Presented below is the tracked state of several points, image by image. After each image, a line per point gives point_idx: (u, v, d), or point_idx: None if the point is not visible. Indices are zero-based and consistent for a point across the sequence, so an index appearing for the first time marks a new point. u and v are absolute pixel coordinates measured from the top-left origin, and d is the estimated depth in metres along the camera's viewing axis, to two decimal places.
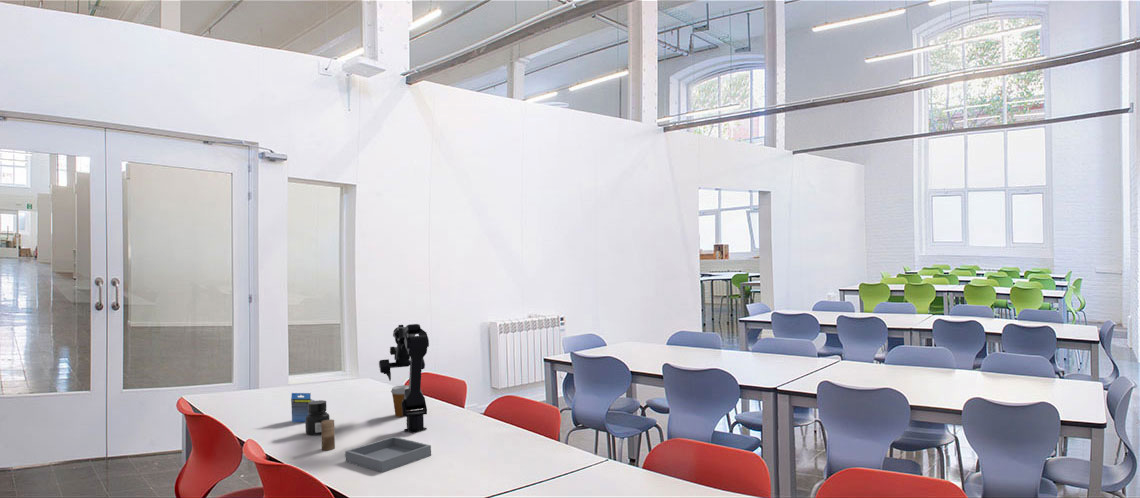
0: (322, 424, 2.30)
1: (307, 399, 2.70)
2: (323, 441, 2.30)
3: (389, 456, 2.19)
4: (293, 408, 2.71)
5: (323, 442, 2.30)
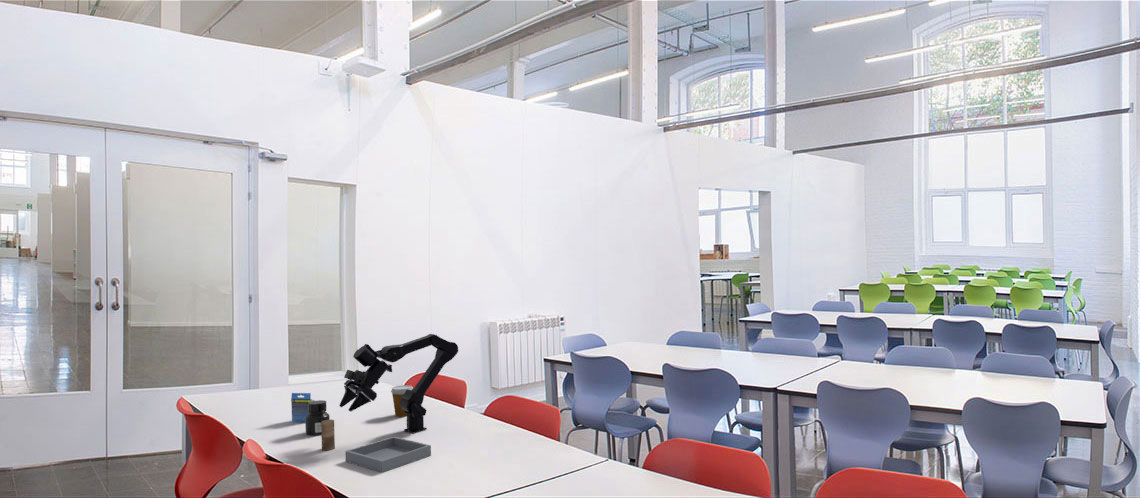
0: (322, 424, 2.30)
1: (307, 399, 2.70)
2: (323, 441, 2.30)
3: (389, 456, 2.19)
4: (293, 408, 2.71)
5: (323, 442, 2.30)
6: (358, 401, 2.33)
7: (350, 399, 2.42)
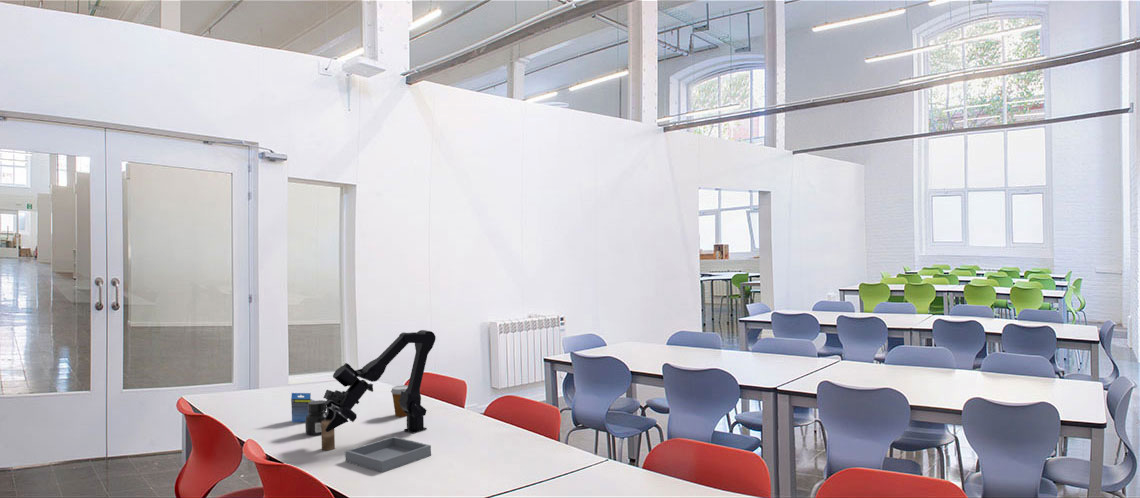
0: (322, 424, 2.30)
1: (307, 399, 2.70)
2: (323, 441, 2.30)
3: (389, 456, 2.19)
4: (293, 408, 2.71)
5: (323, 442, 2.30)
6: (335, 421, 2.30)
7: None
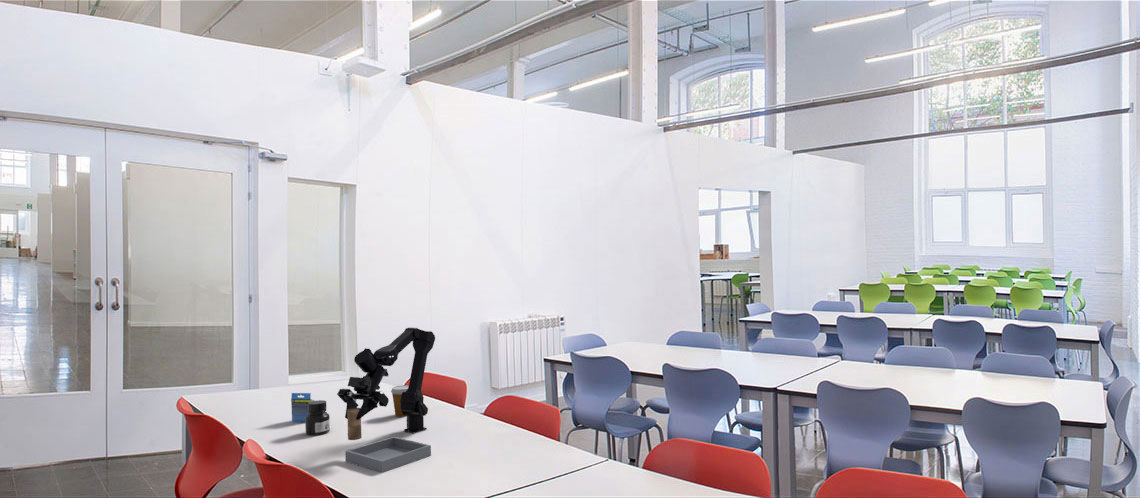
0: (351, 412, 2.20)
1: (307, 399, 2.70)
2: (352, 430, 2.20)
3: (389, 456, 2.19)
4: (293, 408, 2.71)
5: (352, 431, 2.20)
6: (365, 408, 2.22)
7: None
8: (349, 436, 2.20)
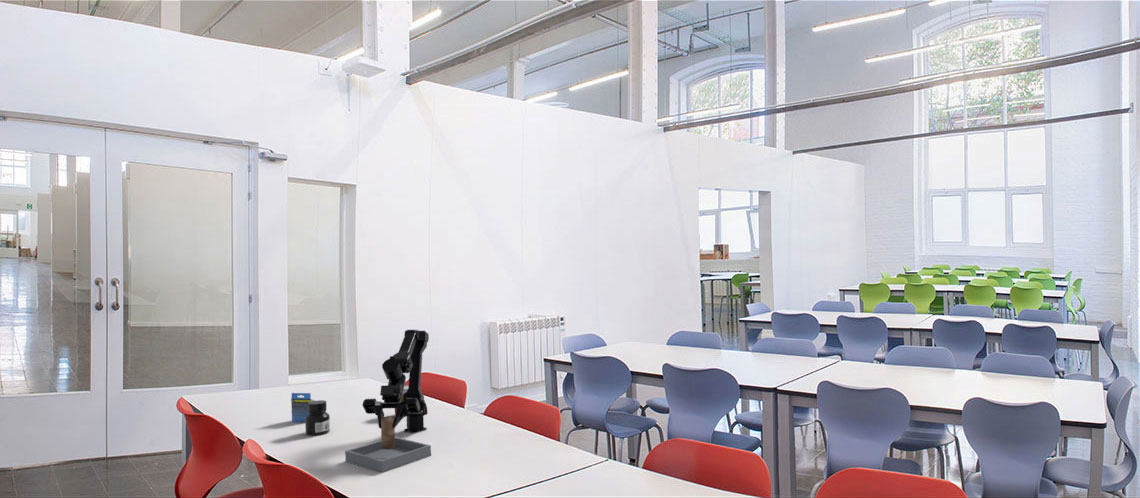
0: (387, 421, 2.17)
1: (307, 399, 2.70)
2: (389, 439, 2.17)
3: (389, 456, 2.19)
4: (293, 408, 2.71)
5: (389, 440, 2.17)
6: (399, 416, 2.20)
7: None
8: (385, 445, 2.17)
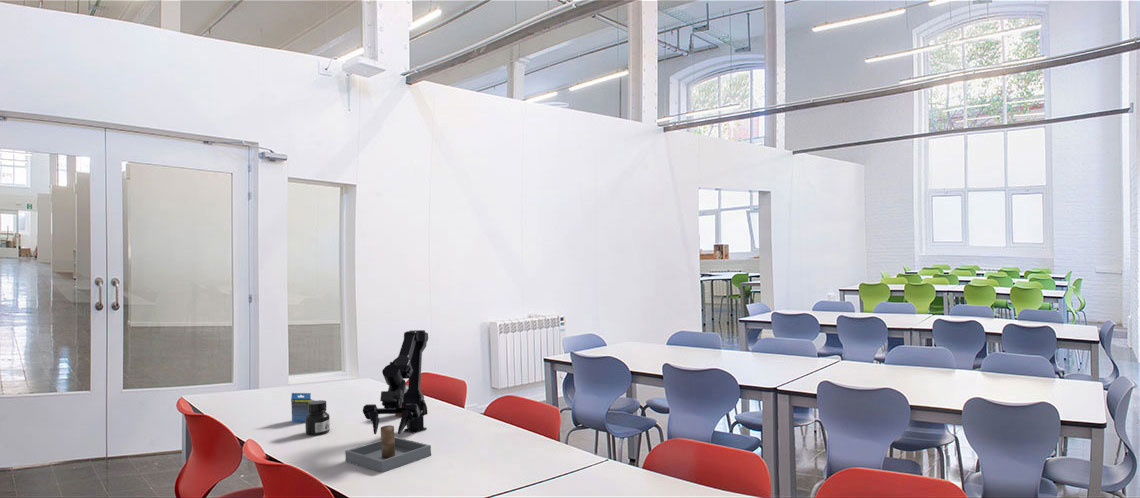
0: (387, 431, 2.17)
1: (307, 399, 2.70)
2: (389, 448, 2.17)
3: None
4: (293, 408, 2.71)
5: (389, 449, 2.17)
6: (404, 421, 2.20)
7: (377, 424, 2.22)
8: (385, 455, 2.17)
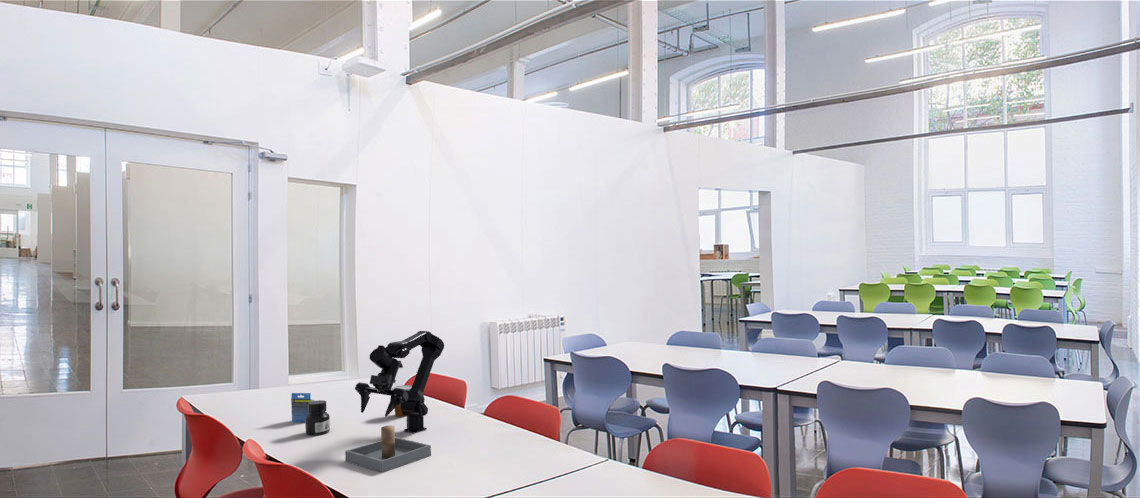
0: (387, 431, 2.17)
1: (307, 399, 2.70)
2: (389, 448, 2.17)
3: None
4: (293, 408, 2.71)
5: (389, 449, 2.17)
6: (392, 405, 2.31)
7: (366, 402, 2.34)
8: (385, 455, 2.17)
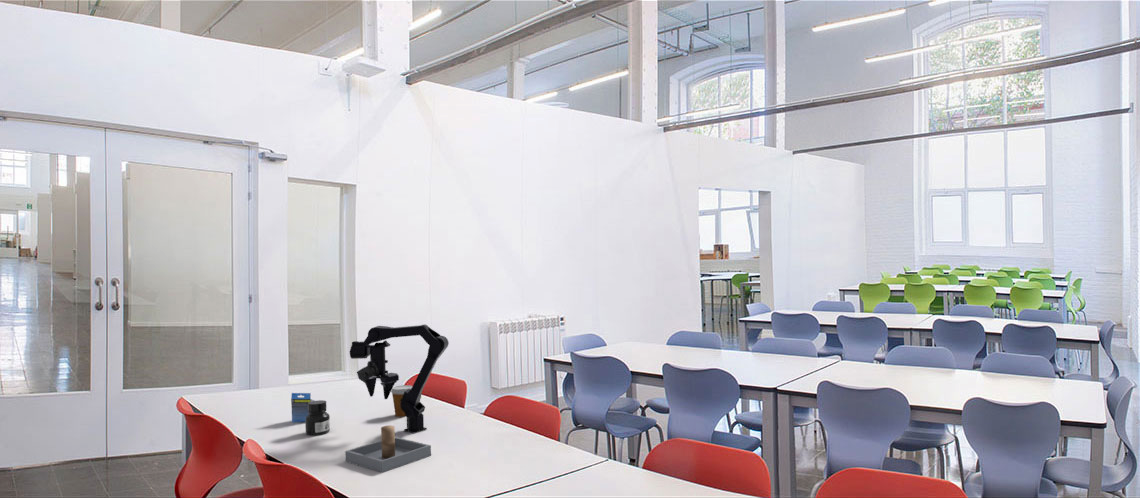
0: (387, 431, 2.17)
1: (307, 399, 2.70)
2: (389, 448, 2.17)
3: None
4: (293, 408, 2.71)
5: (389, 449, 2.17)
6: (387, 388, 2.50)
7: (373, 384, 2.58)
8: (385, 455, 2.17)
